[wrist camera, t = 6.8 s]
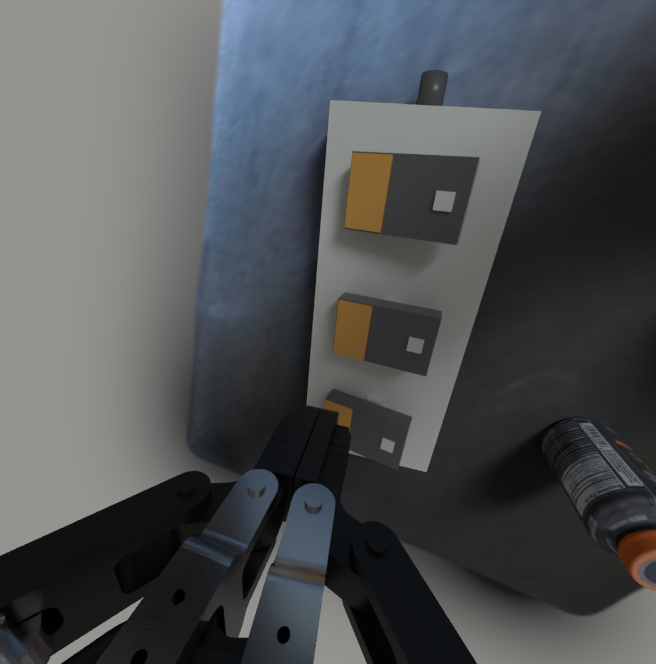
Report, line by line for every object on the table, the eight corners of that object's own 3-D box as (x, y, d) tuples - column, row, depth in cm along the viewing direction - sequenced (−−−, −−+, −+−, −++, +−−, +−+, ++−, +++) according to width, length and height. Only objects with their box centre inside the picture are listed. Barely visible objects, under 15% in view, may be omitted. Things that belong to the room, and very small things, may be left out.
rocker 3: (412, 416, 24) (407, 430, 23) (401, 457, 26) (396, 472, 25) (333, 388, 27) (324, 399, 25) (328, 427, 29) (320, 439, 27)
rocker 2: (442, 310, 21) (441, 319, 19) (427, 365, 23) (425, 377, 21) (344, 292, 23) (337, 298, 21) (338, 344, 25) (331, 353, 23)
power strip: (527, 89, 20) (560, 61, 16) (423, 441, 32) (426, 476, 28) (343, 82, 22) (330, 55, 18) (313, 416, 34) (301, 445, 30)
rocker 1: (479, 161, 17) (479, 156, 15) (458, 242, 19) (455, 245, 17) (361, 154, 19) (351, 150, 18) (352, 227, 21) (342, 228, 20)
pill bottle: (621, 458, 28) (745, 604, 18) (549, 470, 30) (623, 607, 20) (606, 407, 27) (733, 536, 16) (531, 424, 29) (602, 547, 19)
